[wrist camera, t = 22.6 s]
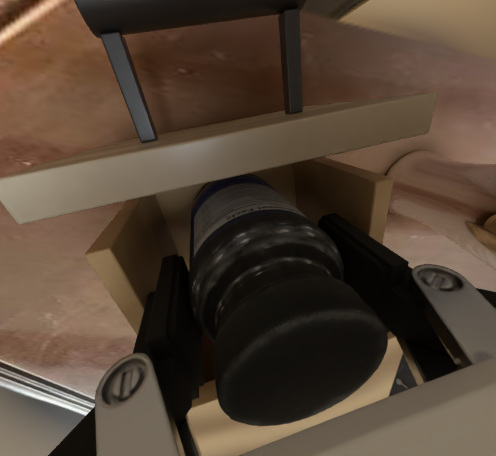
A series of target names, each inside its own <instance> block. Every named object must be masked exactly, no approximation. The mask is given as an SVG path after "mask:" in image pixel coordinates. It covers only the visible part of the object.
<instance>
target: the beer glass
mask: <svg viewBox="0 0 496 456" xmlns="http://www.w3.org/2000/svg"><path fill="white" fill-rule="evenodd" d="M386 176H388V177H391V178H393V179H394V180H393V186H392V192H391V197H390V203H389V209H388V212H389V213H391V214H394V215H398V216H402V217H406V218H410V219H413V220H416V221H419V222H421V223H424V224H426V225H427V226H429V227H431V228H433V229H435V230H436V231H438V232H439V233H441V234H442V235H444V236H445V237H447V238H448V239H450V240H451V241H453V242H454V243H455V244H457V245H458V246H460V247H461V248H463V249H464V250H466V251H467V252H468V253H470V254H471V255H473V256H474V257H476V258H477V259H479V260H480V261H482V262H483V263H485V264H487V265H488V266H490V267H491V268H493V269H495V270H496V164H476V163H467V162H460V161H455V160H451V159H448V158H445V157H442V156H439V155H437V154H434V153H431V152H428V151H415V152H411V153H409V154H407V155H405V156H404V157H402V158H401V159H399V160H398V161H397V162H396V163H395V164H394V165H393V166H392V167H391V168H390V170H389V171H388V173H387V174H386Z"/></svg>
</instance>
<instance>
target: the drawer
mask: <svg viewBox="0 0 496 456" xmlns="http://www.w3.org/2000/svg"><path fill="white" fill-rule="evenodd" d="M74 1H75V3H76V5H77V7H78V9H79V11H80V13H81V15H82V17H83V19H84V21H85V22H86V24H87V26H88V27H89V29H90V30H91V31H92V33H93V34H94V35H95V36H96V37H97V38H101V39H102V42H103V44H104V47H105V50H106V52H107V55H108V58H109V60H110V63H111V65H112V68H113V71H114V73H115V76H116V78H117V81H118V84H119V86H120V89H121V92H122V94H123V97H124V99H125V102H126V105H127V107H128V110H129V112H130V115H131V118H132V120H133V123H134V126H135V128H136V131H137V133H138V136H139V138H138V139H133V140H127V141H122V142H117V143H112V144H108V145H105V146H102V147H98V148H95V149H92V150H88V151H85V152H82V153H78V154H75V155H72V156H68V157H65V158H62V159H59V160H55V161H52V162H49V163H45V164H42V165H39V166H35V167H32V168H29V169H25V170H22V171H19V172H15V173H12V174H9V175H5V176H2V177H0V201H1V203H2V204H3V205H4V207H5V208H6V209H7V210H8V212H9V213H10V214H11V215H12V217H13V218H14V219H15V221H16V222H17V223H18V224H25V223H30V222H34V221H38V220H43V219H47V218H52V217H56V216H61V215H65V214H70V213H74V212H79V211H83V210H88V209H92V208H96V207H101V206H105V205H110V204H114V203H119V202H123V201H127V202H126V204H125V205H124V206H123V207H122V209H121V210H120V211H119V212H118V214H117V215H116V216H115V217H114V219H113V220H112V221H111V222H110V224H109V225H108V226H107V227H106V228H105V230H104V231H103V232H102V233H101V235H100V236H99V237H98V238H97V240H96V241H95V242H94V243H93V245H92V246H91V247H90V248H89V250H88V251H87V252H86V253H85V257H86V259H87V260H88V262H89V263H90V265H91V266H92V268H93V269H94V271H95V272H96V274H97V275H98V277H99V278H100V280H101V281H102V283H103V284H104V286H105V287H106V289H107V290H108V292H109V293H110V295H111V296H112V298H113V299H114V301H115V302H116V304H117V305H118V307H119V308H120V310H121V311H122V313H123V314H124V316H125V317H126V319H127V320H128V322H129V323H130V325H131V326H132V328H133V329H134V331H135V332H136V334H137V335H138V332H139V328H140V324H141V320H142V316H143V312H144V308H145V305H146V301H147V297H148V294H149V293H150V292H154V291H156V286H157V282H158V277H159V272H160V268H161V263H162V259H163V257H166V256H170V255H174V254H177V255H178V257H180V256H183V258H184V260H185V263H186V266H187V268H188V271H189V259H190V231H191V211H192V207H193V205H194V202H195V198H196V196H197V195H198V193H199V192H200V190H201V189H202V187H203V186H204V185H205V184H207V183H208V182H213V181H217V180H221V179H226V178H230V177H235V176H239V175H244V174H248V173H249V174H253V175H255V176H258V177H259V178H261V179H263V180H264V181H265V182H267V183H268V184H269V185H270V186H271V187H272V188H274V189H275V190H276V191H277V192H278V193H280V194H281V195H282V196H283V197H284V198H285V199H287V200H288V201H289V202H290V203H291V204H292V205H293V206H295V207H296V208H297V209H298V210H300V211H301V212H302V213H303V214H304V215H305V216H306V217H307V218H309V219H310V220H311V221H312V222H313V223H315V224H316V225H317V226H318V221H319V220H321V217H322V216H324V215H328V214H332V213H336V214H337V215H339V216H340V217H342V218H343V219H345V220H346V221H348V222H349V223H351V224H352V225H354V226H355V227H357V228H358V229H360V230H361V231H363V232H364V233H366V234H367V235H369V236H370V237H372V238H373V239H375V240H376V241H378V242H379V243H381V244H382V243H383V237H384V232H385V226H386V220H387V215H388V209H389V203H390V197H391V192H392V186H393V180H394V179H393V178H391V177H388V176H384V175H381V174H377V173H374V172H371V171H367V170H364V169H361V168H357V167H354V166H351V165H347V164H344V163H340V162H337V161H334V160H330V159H327V158H324V156H329V155H333V154H337V153H342V152H346V151H351V150H355V149H360V148H364V147H369V146H373V145H378V144H382V143H387V142H391V141H395V140H400V139H404V138H409V137H413V136H418V135H422V134H426V133H428V132H429V128H430V124H431V120H432V115H433V111H434V107H435V103H436V98H437V93H436V92H431V93H422V94H413V95H404V96H395V97H386V98H377V99H368V100H359V101H350V102H341V103H332V104H323V105H314V106H305V107H303V102H302V71H301V39H300V10H301V9H302V8H303V7H304V5H305V2H306V0H74ZM277 14H280V16H279V33H280V47H281V62H282V77H283V92H284V106H285V110H284V111H279V112H274V113H268V114H263V115H258V116H253V117H248V118H242V119H237V120H232V121H227V122H221V123H216V124H211V125H206V126H201V127H195V128H190V129H185V130H180V131H174V132H169V133H164V134H159V135H157V132H156V129H155V126H154V123H153V120H152V117H151V114H150V111H149V108H148V106H147V103H146V100H145V97H144V94H143V91H142V88H141V85H140V82H139V79H138V76H137V73H136V70H135V67H134V64H133V62H132V59H131V56H130V53H129V50H128V47H127V44H126V41H125V39H124V37H123V36H122V35H127V34H134V33H142V32H149V31H157V30H164V29H172V28H179V27H187V26H194V25H202V24H209V23H217V22H224V21H232V20H239V19H247V18H254V17H262V16H269V15H277ZM202 344H203V369H204V383H206V382H209V381H212V380H215V374H214V368H213V348H214V345H215V343H214V342H213V341H212V340H210V339H209V338H208V337H207V336H205V334H204V333H203V332H202Z"/></svg>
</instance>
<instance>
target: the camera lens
mask: <svg viewBox="0 0 496 456" xmlns="http://www.w3.org/2000/svg"><path fill="white" fill-rule="evenodd" d="M188 282H189V286H188V296H189V306H190V312H191V314H192V317H193V319H194V321H195V323H196V324H197V326H198V327H199V328H200V330H201V331H202V332H203V333H204V334H205V336H207V337H208V338H209V339H210V340H212V341H213V342H214V343H215V345H214V348H213V368H214V374H215V384H216V391H217V398H218V402H219V405H220V407H221V409H222V410H223V411H224V413H225V414H226V415H228V416H229V417H230V419H232V420H234V421H237V422H240V423H245V424H247V425H252V426H255V425H256V426H275V425H282V424H289V423H292V422H295V421H300V420H302V419H306V418H308V417H311V416H313V415H316V414H318V413H320V412H323V411H325V410H327V409H328V408H331V407H332V406H334V405H336V404H338V403H339V402H342V401H343V400H345V399H346V398H347V397H349V396H350V395H351V394H353V393H354V392H356V391H357V390H358V389H359V388H360V387H361V386H362V385H363V384H364V383H366V382H367V381H368V379H369V378H370V377H371V376H372V375H373V373H374V372H375V371H376V370H377V369H378V368H379V366H380V364H381V362H382V360H383V358H384V355H385V353H386V351H387V346H388V337H387V331H386V328H385V326H384V324H383V323H382V321H381V320H380V319H379V317H378V316H377V314H376V313H375V312H374V311H373V310H372V309H371V308H370V307H369V306H368V305H367V304H366V303H365V302H364V301H363V300H362V299H361V298H360V296H359V294H358V293H357V292H356V291H355V290H354V289H353V288H351V287H350V286H349V285H348V284H346V283H344V267H343V262H342V258H341V255H340V253H339V251H338V249H337V247H336V245H335V243H334V242H333V240H332V239H331V238H330V237H329V235H327V234H326V233H325V232H324V231H323V230H321V228H319V227H318V226H317V225H316V224H315V223H313V222H312V221H311V220H310V219H309V218H307V217H306V216H305V215H304V214H303V213H302V212H301V211H300V210H298V209H297V208H296V207H295V206H293V205H292V204H291V203H290V202H289V201H288V200H287V199H285V198H284V197H283V196H282V195H281V194H280V193H278V192H277V191H276V190H275V189H274V188H272V187H271V186H270V185H269V184H268V183H267V182H265V181H264V180H263V179H261V178H259V177H258V176H255V175H253V174H249V173H248V174H244V175H239V176H235V177H230V178H226V179H221V180H217V181H213V182H208V183H207V184H205V185H204V186H203V187H202V189H201V190H200V192H199V193H198V195H197V196H196V198H195V202H194V205H193V207H192V211H191V231H190V259H189V279H188Z"/></svg>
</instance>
